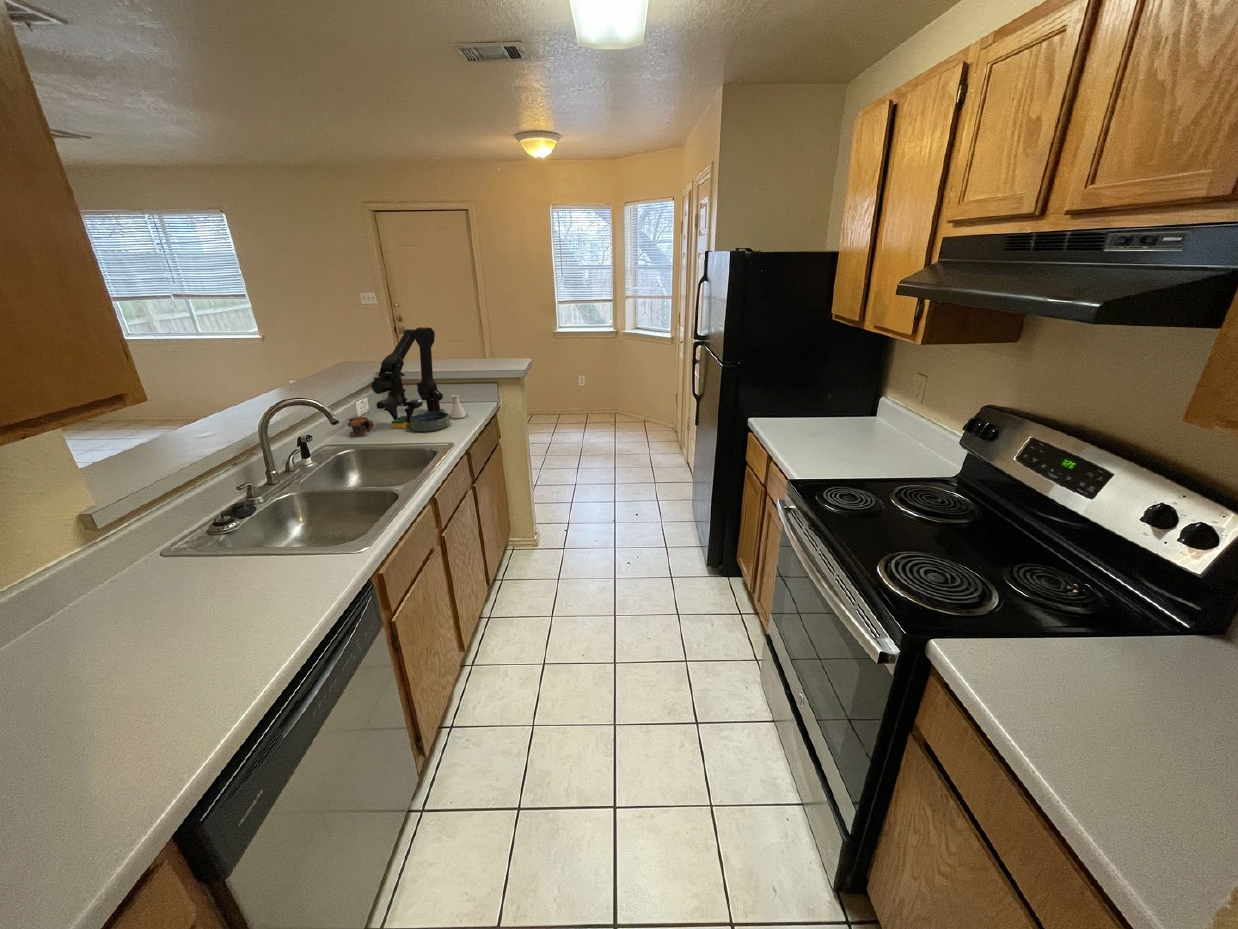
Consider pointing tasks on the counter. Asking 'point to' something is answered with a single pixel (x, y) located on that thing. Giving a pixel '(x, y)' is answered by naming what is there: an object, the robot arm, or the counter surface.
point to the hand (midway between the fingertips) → (403, 422)
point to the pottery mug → (360, 426)
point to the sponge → (400, 422)
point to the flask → (457, 408)
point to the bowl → (430, 421)
